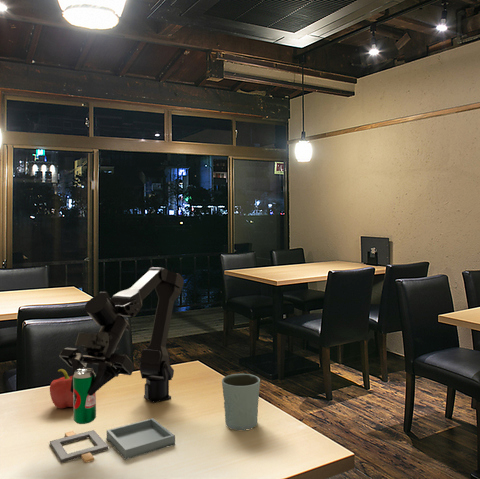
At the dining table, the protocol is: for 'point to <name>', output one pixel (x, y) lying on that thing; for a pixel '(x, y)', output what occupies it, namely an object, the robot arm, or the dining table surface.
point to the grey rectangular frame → (84, 454)
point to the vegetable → (62, 391)
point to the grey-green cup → (241, 400)
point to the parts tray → (140, 438)
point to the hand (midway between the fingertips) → (80, 393)
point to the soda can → (83, 396)
